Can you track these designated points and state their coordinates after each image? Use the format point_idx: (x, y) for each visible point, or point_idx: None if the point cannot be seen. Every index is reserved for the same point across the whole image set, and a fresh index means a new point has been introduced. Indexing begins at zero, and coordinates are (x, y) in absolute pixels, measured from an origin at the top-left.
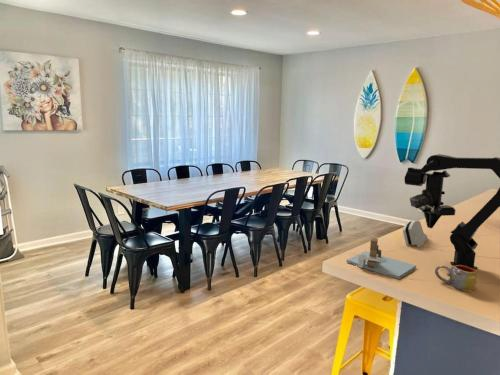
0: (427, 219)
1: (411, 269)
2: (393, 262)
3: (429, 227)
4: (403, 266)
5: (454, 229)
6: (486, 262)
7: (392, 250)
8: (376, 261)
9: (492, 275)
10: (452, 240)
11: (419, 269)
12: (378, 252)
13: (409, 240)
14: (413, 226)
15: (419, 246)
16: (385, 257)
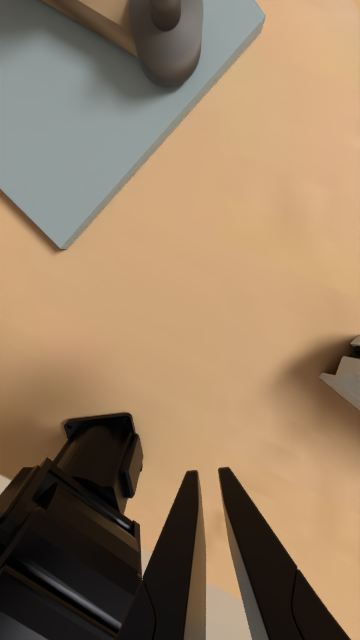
0: (246, 572)
1: (24, 210)
2: (85, 140)
3: (190, 474)
4: (37, 175)
5: (65, 632)
6: (150, 530)
7: (296, 231)
8: (57, 7)
9: None
10: (16, 501)
11: (54, 259)
12: (130, 23)
13: None
14: None
15: (331, 386)
16: (156, 120)
